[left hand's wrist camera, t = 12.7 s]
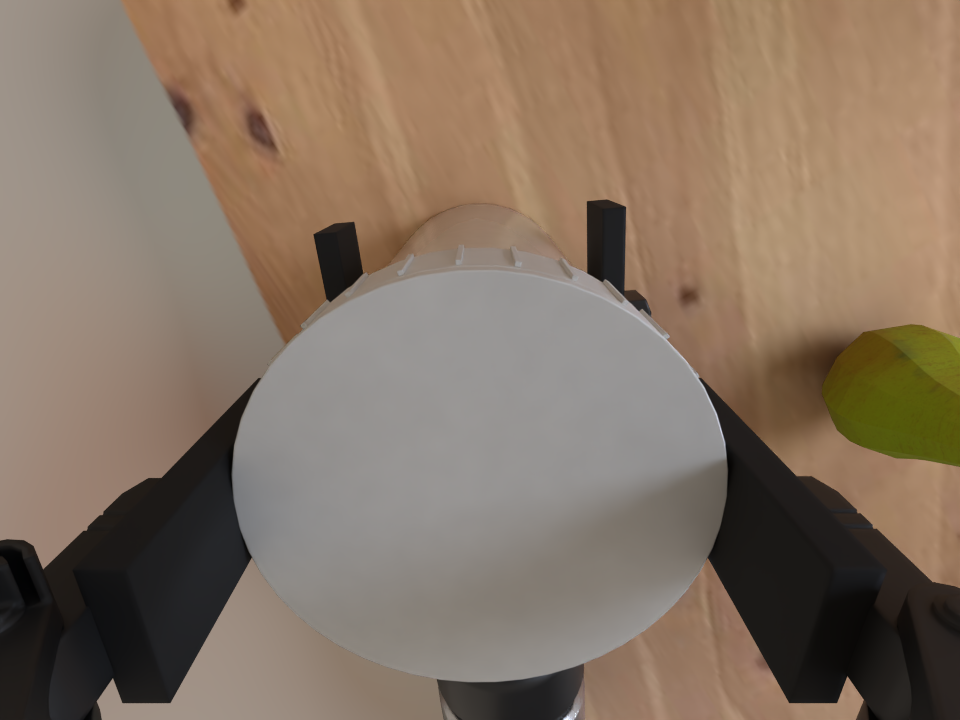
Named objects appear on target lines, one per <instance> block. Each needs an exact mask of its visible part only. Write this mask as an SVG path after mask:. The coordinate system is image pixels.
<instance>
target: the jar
mask: <svg viewBox="0 0 960 720" xmlns="http://www.w3.org/2000/svg"><path fill="white" fill-rule="evenodd" d="M459 245H464V248H500V249H508V250H510V246H515V247H516V249H517V251H524V252H528V253H532V254H536V255H540V256H544V257H548V258H551V259H555V260H558V261H559V260H560V258H563V259H565V260H566V261H567V263H568V264H569V265H570V266H572V267H573V265H572V264H571V263H570V262H569V260H568V259H567V258H566V257H565V255H564V254H563V253H562V252H561V250H560V249H559V248H558V247H557V245H556V244H555V243H554V242H553V240H552V239H551V238H550V237H549V235H548V234H547V233H546V232H545V231H544V230H543V229H542V228H541V227H540V226H539V225H537V224H536V223H535V222H534V221H532V220H531V219H529V218H528V217H526V216H524V215H523V214H521V213H519V212H516V211H514V210H512V209H509V208H505V207H502V206H498V205H490V204H470V205H463V206H459V207H455V208H452V209H449V210H446V211H444V212H442V213H440V214H438V215H436V216H434V217H433V218H431V219H429V220H428V221H427V222H425V223H424V224H423V225H422V226H421V227H419V228H418V229H417V230H416V232H415V233H414V234H413V235H412V236H411V237H410V238H409V240H408V241H407V242H406V243H405V245H404V246H403V247H402V248H401V249H400V251H399V252H398V253H397V254H396V256H395V257H394V258H393V259H392V261H391V262H390V263H389V264H388V266H390V265H392V264H395V263H397V262H399V261H402V260H405V259H406V257H407V256H408V255H409V254H412V253H413V255H414V257H416V256H420V255H423V254H427V253H430V252H437V251H444V250H451V249H458V246H459ZM388 266H387V267H388Z"/></svg>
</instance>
